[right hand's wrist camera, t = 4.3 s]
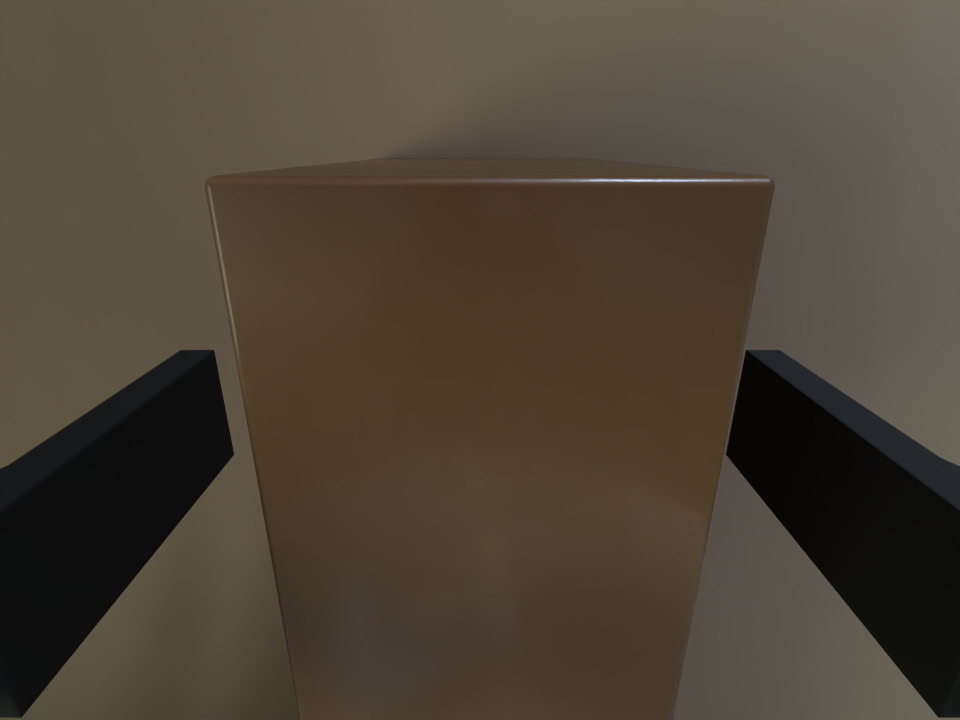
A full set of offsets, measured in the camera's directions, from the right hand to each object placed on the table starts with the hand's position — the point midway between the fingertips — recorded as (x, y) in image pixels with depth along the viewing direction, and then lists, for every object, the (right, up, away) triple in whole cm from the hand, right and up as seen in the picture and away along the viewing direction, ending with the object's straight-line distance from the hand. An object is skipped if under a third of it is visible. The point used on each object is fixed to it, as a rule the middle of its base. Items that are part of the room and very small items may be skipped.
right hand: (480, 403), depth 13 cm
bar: (0, -24, +12) cm, 27 cm away
